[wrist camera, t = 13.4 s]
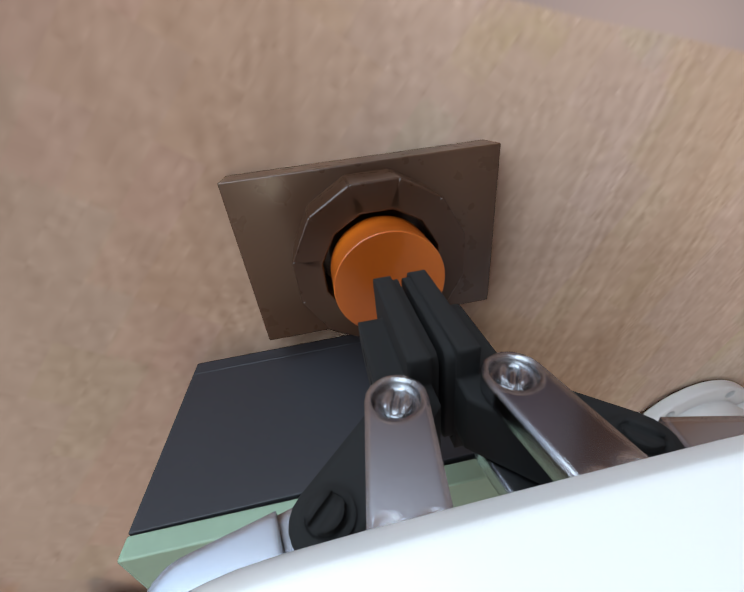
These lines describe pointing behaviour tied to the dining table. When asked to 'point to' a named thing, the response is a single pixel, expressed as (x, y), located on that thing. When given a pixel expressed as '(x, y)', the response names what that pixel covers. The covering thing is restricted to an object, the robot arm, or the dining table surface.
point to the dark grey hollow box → (259, 431)
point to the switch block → (351, 205)
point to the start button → (379, 262)
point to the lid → (169, 544)
